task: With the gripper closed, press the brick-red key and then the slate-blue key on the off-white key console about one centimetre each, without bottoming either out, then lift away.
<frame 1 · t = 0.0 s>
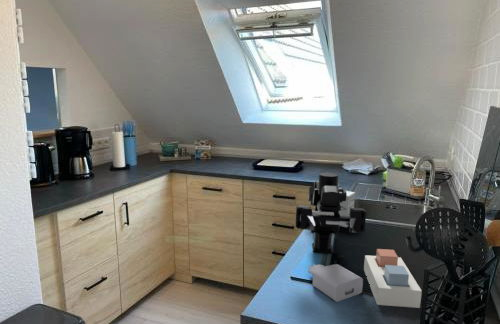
hand: (332, 229, 96), 17 cm above the worktop, tool horizontal, fingers open, 9 cm apart
brick key: (386, 260, 105), point 5 cm above the worktop, slide at 0.0 cm
key console: (389, 287, 101), on the worktop
slate key: (395, 277, 95), point 5 cm above the worktop, slide at 0.0 cm
charger: (328, 285, 102), on the worktop
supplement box: (341, 223, 149), on the worktop
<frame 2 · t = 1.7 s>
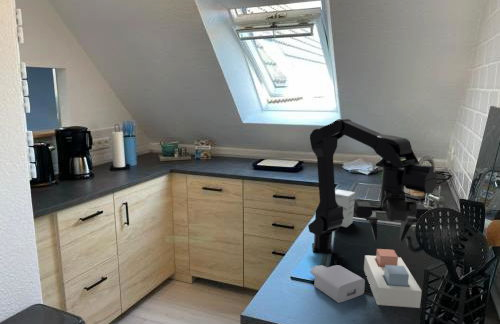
hand: (388, 240, 104), 11 cm above the worktop, tool pointing down, fingers open, 6 cm apart
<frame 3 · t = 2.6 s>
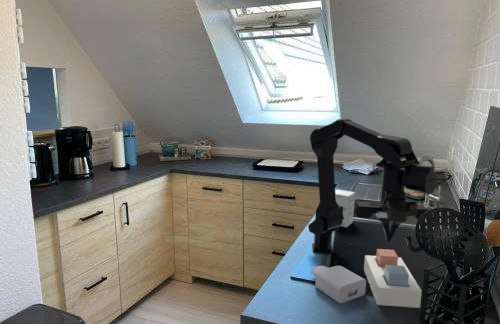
hand: (388, 240, 104), 11 cm above the worktop, tool pointing down, fingers closed
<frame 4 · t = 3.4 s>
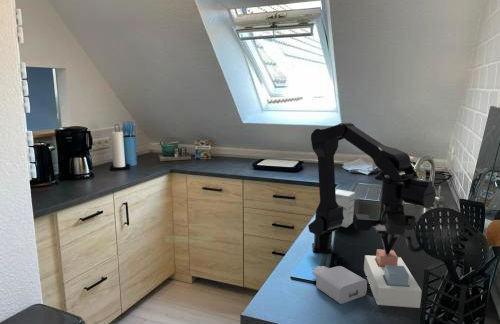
hand: (386, 253, 105), 7 cm above the worktop, tool pointing down, fingers closed, pressing on brick key
brick key: (386, 260, 105), point 5 cm above the worktop, slide at 0.1 cm, touching gripper
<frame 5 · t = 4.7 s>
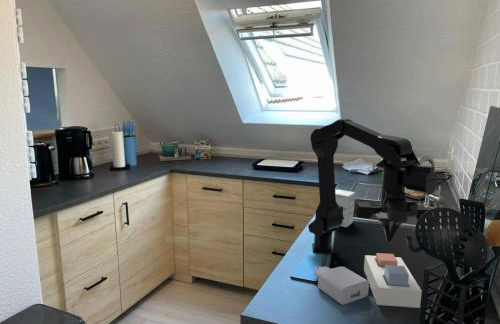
hand: (388, 241, 104), 11 cm above the worktop, tool pointing down, fingers closed
brick key: (386, 264, 105), point 4 cm above the worktop, slide at 1.3 cm
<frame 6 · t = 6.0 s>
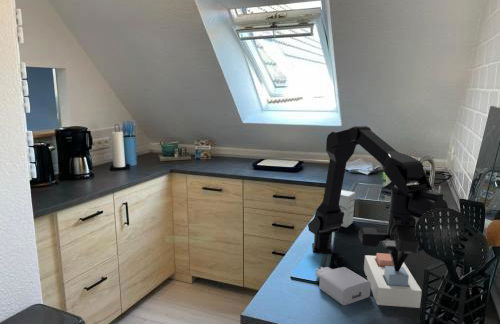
hand: (396, 270, 95), 7 cm above the worktop, tool pointing down, fingers closed, pressing on slate key
slate key: (395, 279, 95), point 5 cm above the worktop, slide at 0.3 cm, touching gripper
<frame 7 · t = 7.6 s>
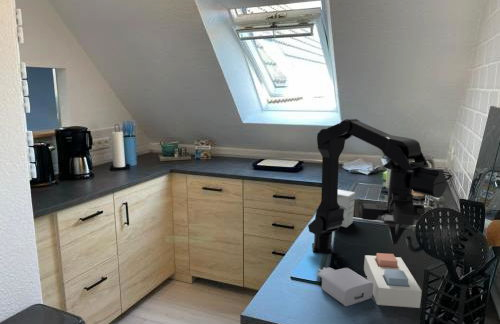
hand: (394, 244, 101), 11 cm above the worktop, tool pointing down, fingers closed
slate key: (395, 282, 95), point 4 cm above the worktop, slide at 1.3 cm
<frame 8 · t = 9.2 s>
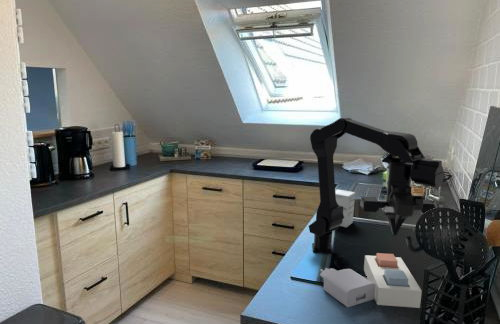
hand: (394, 235, 105), 12 cm above the worktop, tool pointing down, fingers closed
at the end: brick key slide at 1.3 cm; slate key slide at 1.3 cm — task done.
